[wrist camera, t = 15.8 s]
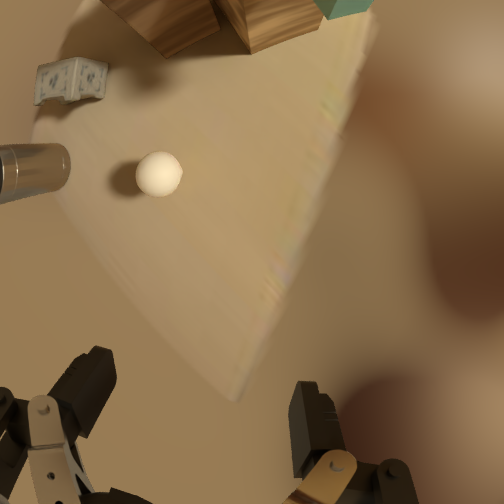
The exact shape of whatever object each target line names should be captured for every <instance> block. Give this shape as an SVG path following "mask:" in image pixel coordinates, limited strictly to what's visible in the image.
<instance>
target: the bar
mask: <svg viewBox="0 0 504 504" xmlns="http://www.w3.org/2000/svg"><path fill="white" fill-rule="evenodd" d="M313 1H314V3H315V4H316V5H317V7H318V8H319V9H320V10H321V12H322V13H323V14H324V16H325V17H326V18H327V20H331V19H335V18H339V17H343V16H347V15H351V14H356V13H360V12H365V11H367V9H368V8H369V6H370V5H371V4H372V2H373V1H374V0H313Z"/></svg>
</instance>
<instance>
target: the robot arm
mask: <svg viewBox="0 0 504 504" xmlns="http://www.w3.org/2000/svg"><path fill="white" fill-rule="evenodd" d="M69 173H70V157H69V154H68V152H67V150H66V148H65V147H64V146H62V145H61V144H57V143H47V144H45V143H39V144H9V145H0V204H4V203H7V202H11V201H14V200H18V199H22V198H26V197H30V196H34V195H38V194H43V193H47V192H52V191H56V190H59V189H60V188H62V187H63V186H64V184H65V183H66V181H67V179H68V177H69ZM116 380H117V375H116V369H115V364H114V358H113V353H112V351H111V350H110V349H107V348H103V347H99V346H94V347H93V348H92V349H91V351H90V352H89V353H88V354H85V353H83V354H82V355H80V356H79V357H77V358H75V359H74V360H73V362H72V363H71V364H70V366H69V368H67V369H66V371H65V373H63V375H62V376H61V377H60V379H59V380H58V381H57V382H56V384H55V385H54V386H53V388H52V389H51V391H50V392H49V393H48V394H47V395H39V396H36V397H34V398H33V399H31V401H27V400H22V399H17V398H14V396H13V394H12V392H11V391H10V390H9V389H7V388H5V387H0V437H1V435H2V434H3V432H4V430H5V431H6V432H5V434H4V435H3V437H2V439H1V441H0V504H9V502H8V499H9V497H10V494H11V492H12V490H13V487H14V485H15V483H16V481H17V479H18V476H19V474H20V472H21V470H22V468H23V466H24V464H25V462H26V459H27V457H28V458H29V464H30V469H31V474H32V479H33V483H34V488H35V492H36V496H37V499H38V503H39V504H152V503H151V502H149V501H147V500H144V499H143V498H141V497H139V496H136V495H133V494H130V493H127V492H124V491H121V490H118V489H115V488H112V487H111V489H110V492H109V493H108V492H95V491H94V489H93V487H92V485H91V483H90V481H89V479H88V477H87V474H86V472H85V468H84V465H83V463H82V459H81V456H80V453H79V450H78V446H77V443H76V439H77V437H78V435H79V436H82V437H84V438H88V436H89V434H90V432H91V430H92V428H93V426H94V424H95V422H96V421H97V418H98V417H99V415H100V413H101V411H102V409H103V407H104V406H105V404H106V402H107V400H108V398H109V396H110V394H111V393H112V391H113V389H114V387H115V385H116ZM288 417H289V428H290V438H291V448H292V461H293V472H294V478H302V482H301V484H300V485H299V486H298V487H297V488H296V490H295V491H294V492H292V493H291V494H290V495H289V496H288V498H287V499H286V500H285V501H284V502H283V503H282V504H419V502H418V499H417V495H416V491H415V488H414V484H413V481H412V477H411V474H410V471H409V468H408V466H407V465H406V464H405V463H404V462H403V461H401V460H398V459H387V460H384V461H383V462H382V463H381V464H380V465H375V464H369V463H363V462H359V461H357V460H356V459H355V458H354V457H353V456H352V455H351V454H350V453H348V452H347V451H346V448H345V444H344V440H343V436H342V432H341V429H340V425H339V422H338V417H337V414H336V409H335V406H334V402H333V401H332V400H331V398H330V397H329V396H328V395H327V394H319V390H318V386H317V383H316V382H312V381H298V382H297V384H296V388H295V390H294V394H293V396H292V399H291V402H290V405H289V413H288Z"/></svg>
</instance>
